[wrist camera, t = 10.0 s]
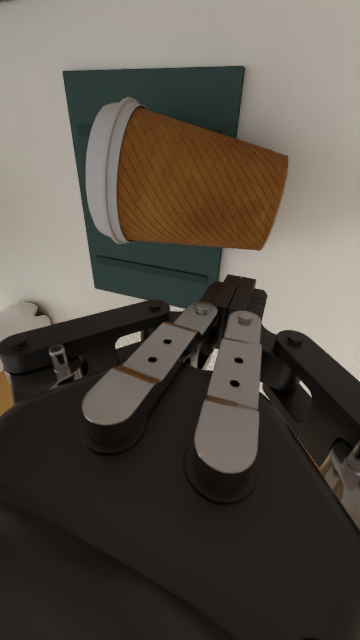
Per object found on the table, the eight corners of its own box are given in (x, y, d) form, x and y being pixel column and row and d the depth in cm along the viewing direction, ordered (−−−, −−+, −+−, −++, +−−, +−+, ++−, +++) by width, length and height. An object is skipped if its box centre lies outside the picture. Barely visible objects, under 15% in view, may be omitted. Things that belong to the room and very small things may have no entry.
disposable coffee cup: (313, 82, 15) (108, 50, 16) (280, 243, 14) (65, 200, 15) (267, 184, 25) (139, 161, 26) (246, 285, 24) (114, 257, 25)
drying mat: (97, 286, 34) (93, 289, 33) (67, 72, 23) (59, 70, 22) (214, 312, 30) (212, 316, 29) (245, 67, 19) (243, 64, 18)
